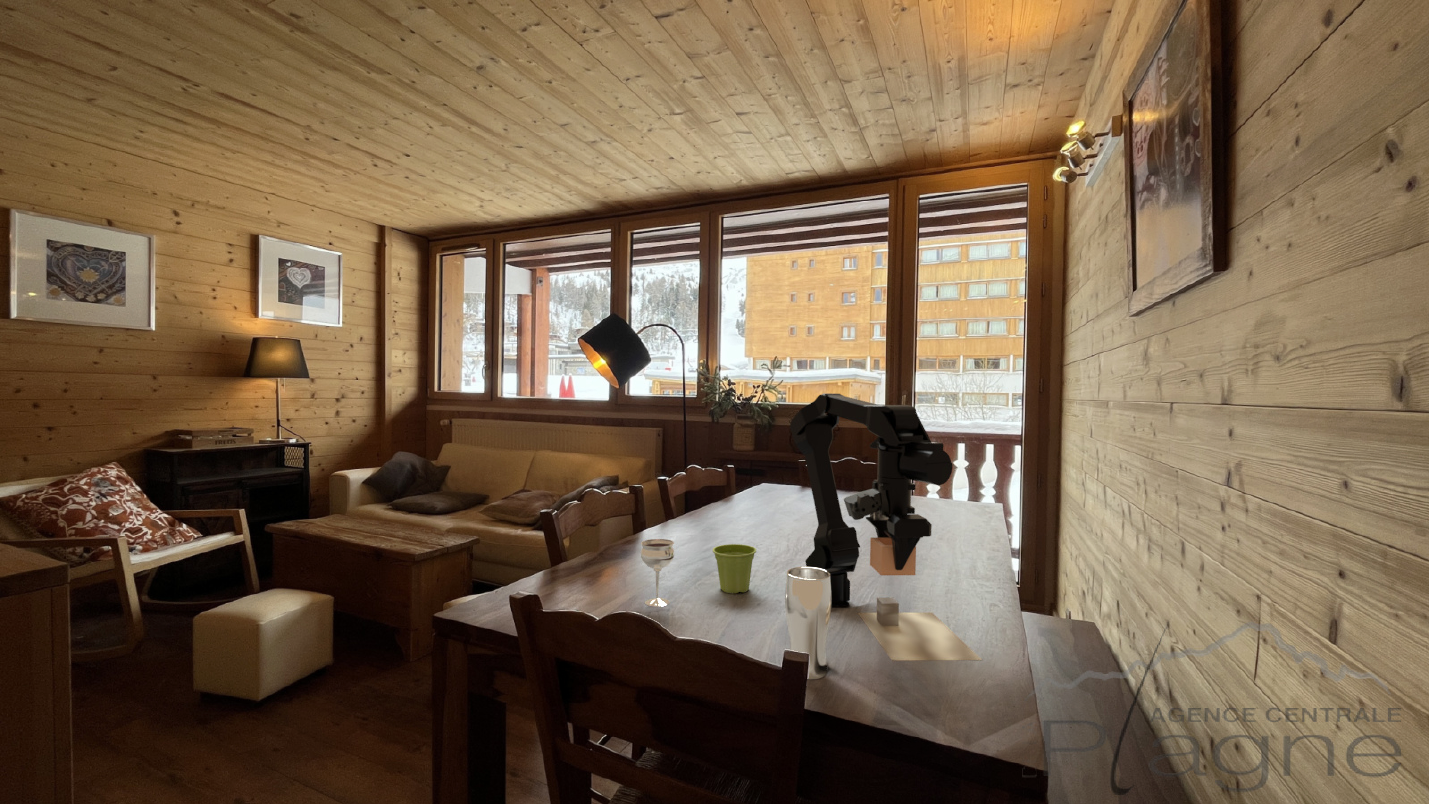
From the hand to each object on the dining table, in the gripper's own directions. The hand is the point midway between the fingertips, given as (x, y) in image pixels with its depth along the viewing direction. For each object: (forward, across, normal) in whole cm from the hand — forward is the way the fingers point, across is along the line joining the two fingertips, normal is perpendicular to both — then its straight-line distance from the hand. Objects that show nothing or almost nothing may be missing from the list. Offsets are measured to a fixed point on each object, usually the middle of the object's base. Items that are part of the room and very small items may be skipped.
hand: (892, 564), depth 107 cm
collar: (+1, 0, 0) cm, 1 cm away
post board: (+12, +4, +2) cm, 13 cm away
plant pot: (+13, -25, -25) cm, 38 cm away
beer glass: (+12, +14, -18) cm, 26 cm away
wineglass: (+13, -17, -42) cm, 47 cm away
